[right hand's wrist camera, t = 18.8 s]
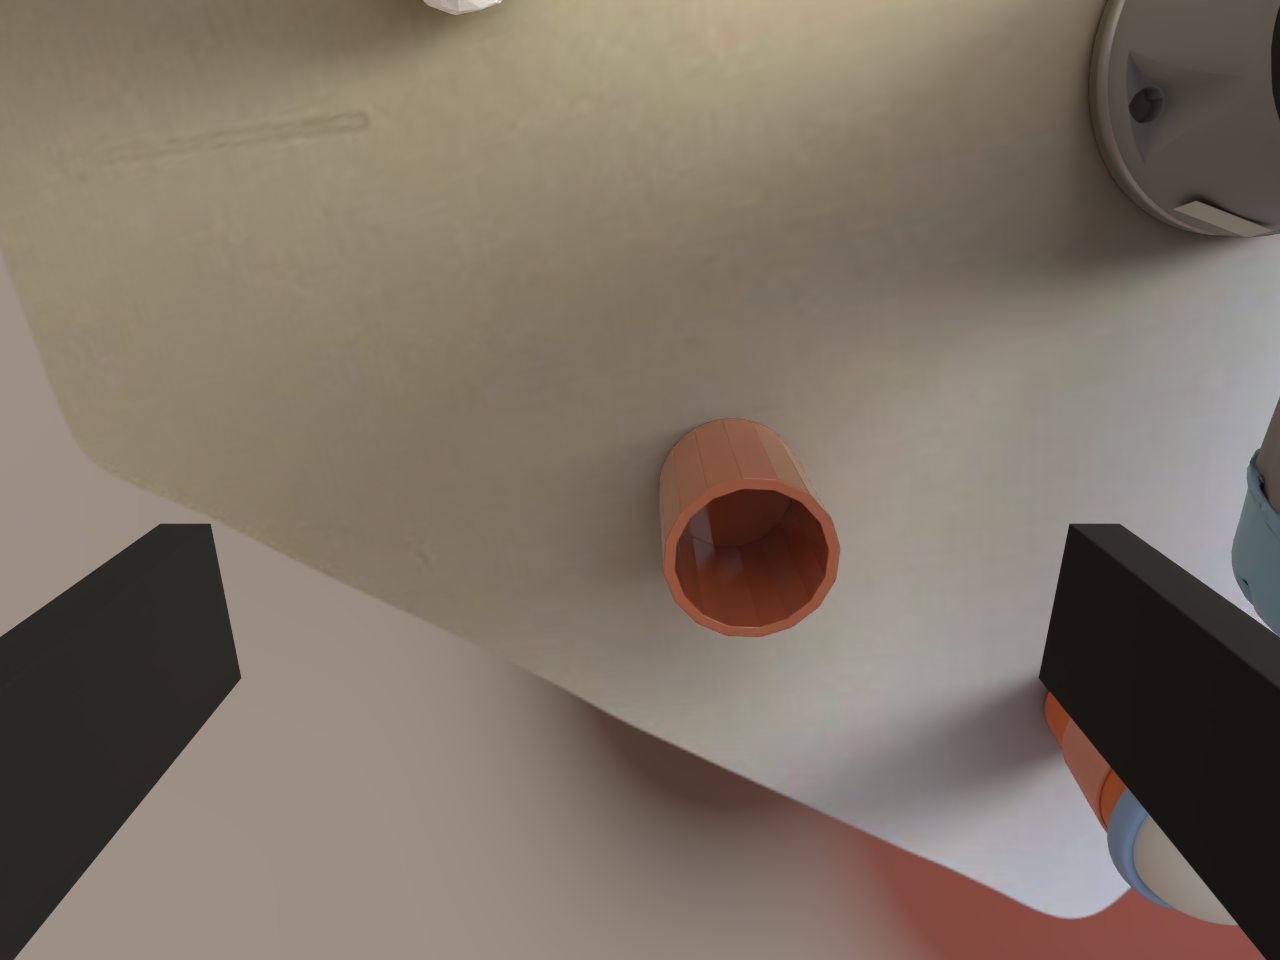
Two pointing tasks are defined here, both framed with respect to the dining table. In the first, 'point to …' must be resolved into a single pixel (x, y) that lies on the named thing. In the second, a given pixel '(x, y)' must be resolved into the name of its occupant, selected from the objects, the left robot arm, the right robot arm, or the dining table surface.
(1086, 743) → the cup with straw
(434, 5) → the skull
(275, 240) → the dining table surface
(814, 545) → the terracotta cup
